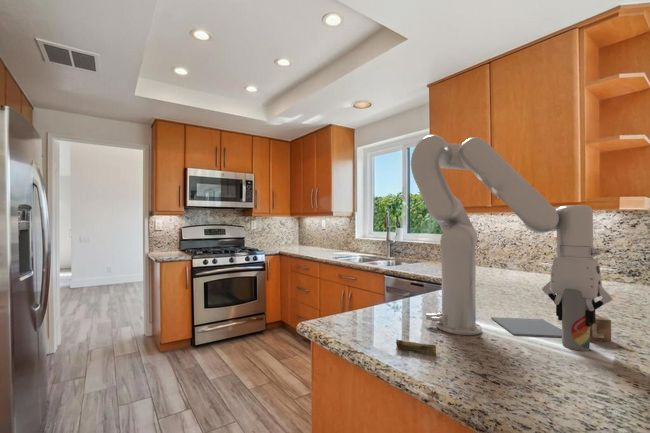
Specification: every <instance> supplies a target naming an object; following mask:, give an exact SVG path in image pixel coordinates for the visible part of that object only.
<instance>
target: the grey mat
mask: <svg viewBox="0 0 650 433" xmlns="http://www.w3.org/2000/svg"><path fill="white" fill-rule="evenodd" d="M490 319H491V320H492V321H493V322H495V323H496V324H497V325H499V326H500V327H502V328H503V329H505V331H507V332H508V333H510V334H511V335H512V336H522V337H540V338H541V337H544V338H545V337H547V338H562V328H560V327H558V326H556V325H554V324H552V323H550V322H549V321H546V320H544V319H543V318H515V317H496V316H494V317H493V316H491V317H490Z"/></svg>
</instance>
